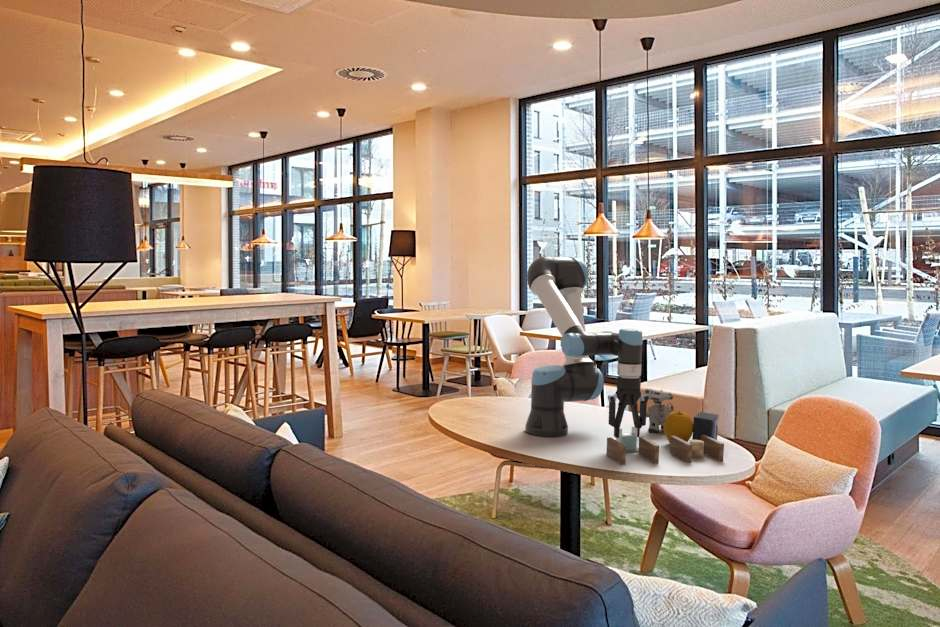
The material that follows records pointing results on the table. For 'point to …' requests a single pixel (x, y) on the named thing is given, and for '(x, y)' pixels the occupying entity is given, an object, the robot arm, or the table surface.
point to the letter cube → (629, 441)
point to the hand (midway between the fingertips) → (626, 447)
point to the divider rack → (676, 448)
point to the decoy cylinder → (697, 448)
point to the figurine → (658, 409)
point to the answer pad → (632, 450)
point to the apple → (678, 426)
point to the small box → (705, 425)
